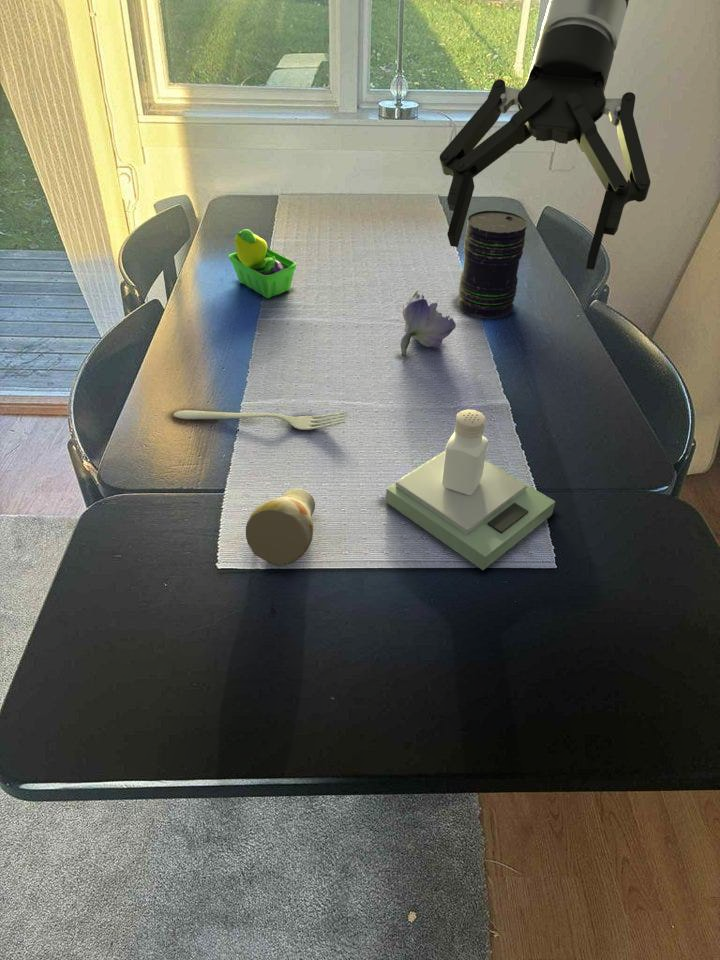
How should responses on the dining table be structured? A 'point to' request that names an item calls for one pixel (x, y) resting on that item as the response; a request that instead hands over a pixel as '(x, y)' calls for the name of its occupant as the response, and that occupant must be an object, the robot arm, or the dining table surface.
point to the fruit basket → (261, 265)
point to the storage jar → (491, 263)
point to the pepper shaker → (465, 453)
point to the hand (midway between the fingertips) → (519, 252)
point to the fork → (296, 422)
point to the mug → (282, 527)
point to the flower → (424, 323)
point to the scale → (471, 510)
